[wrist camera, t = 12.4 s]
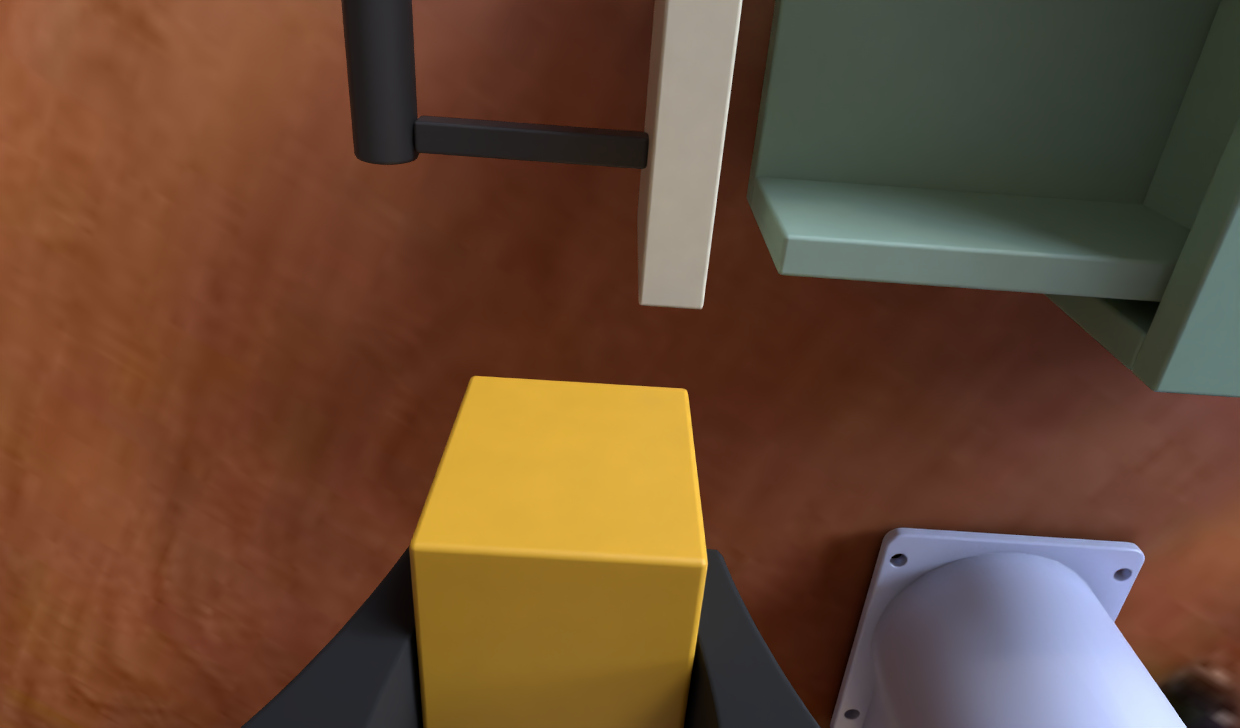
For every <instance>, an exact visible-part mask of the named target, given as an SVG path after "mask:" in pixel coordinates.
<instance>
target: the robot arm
mask: <svg viewBox="0 0 1240 728" xmlns="http://www.w3.org/2000/svg"><path fill="white" fill-rule="evenodd" d="M706 551H707V559H708V567H707V574H706V581H705V587H704V594H703V601H702V608H701V614H700V621H699V628H698V635H697V642H696V648H695V655H694V662H693V669H692V675H691V682H690V689H689V696H688V703H687V709H686V716H685V723H684V728H820V726H819V725H818V723H817V722H816V721H815V719H814V718H813V716H812V715H811V714H810V712H809V711H808V709H807V708H806V706H805V705H804V703H803V702H802V700H801V699H800V697H799V696H798V694H797V693H796V691H795V690H794V688H793V687H792V685H791V684H790V682H789V681H788V679H787V678H786V676H785V674H784V673H783V671H782V670H781V668H780V666H779V665H778V663H777V661H776V660H775V658H774V656H773V655H772V653H771V651H770V649H769V648H768V646H767V644H766V643H765V641H764V639H763V638H762V636H761V634H760V632H759V631H758V629H757V627H756V625H755V623H754V621H753V620H752V618H751V616H750V614H749V612H748V610H747V608H746V606H745V604H744V602H743V600H742V598H741V596H740V594H739V592H738V590H737V588H736V586H735V584H734V582H733V580H732V577H731V575H730V573H729V570H728V568H727V566H726V563H725V561H724V558H723V556H722V555H721V554H720V553H719V552H718V551H717V550H711V549H706ZM896 554H902V555H901V556H900V557H898V558H891V557H892V556H894V555H896ZM1144 558H1145V557H1144V554H1143V552H1142V551H1141V550H1140V549H1139V547H1138V546H1136V545H1135V544H1134V543H1130V542H1118V541H1102V540H1086V539H1071V538H1055V537H1040V536H1024V535H1009V534H993V533H978V532H962V531H947V530H931V529H916V528H896V529H893V530H891V531H889V532H888V533H887V534H886V535H885V536H884V538H883V541H882V544H881V548H880V551H879V555H878V558H877V562H876V565H875V569H874V572H873V576H872V579H871V583H870V586H869V590H868V593H867V597H866V600H865V604H864V607H863V611H862V614H861V618H860V621H859V625H858V628H857V632H856V635H855V639H854V642H853V646H852V649H851V653H850V656H849V660H848V663H847V667H846V670H845V674H844V677H843V681H842V684H841V688H840V691H839V695H838V698H837V702H836V705H835V709H834V712H833V716H832V719H831V723H830V728H1187V727H1186V726H1185V724H1184V723H1183V721H1182V720H1181V719H1180V717H1179V716H1178V714H1177V713H1176V711H1175V710H1174V708H1173V707H1172V706H1171V704H1170V703H1169V701H1168V700H1167V698H1166V697H1165V695H1164V694H1163V693H1162V691H1161V690H1160V688H1159V687H1158V685H1157V684H1156V683H1155V681H1154V680H1153V678H1152V677H1151V675H1150V674H1149V672H1148V671H1147V670H1146V668H1145V667H1144V665H1143V664H1142V662H1141V661H1140V659H1139V658H1138V657H1137V655H1136V654H1135V652H1134V651H1133V649H1132V648H1131V646H1130V645H1129V644H1128V642H1127V641H1126V639H1125V638H1124V636H1123V635H1122V634H1121V632H1120V631H1119V629H1118V628H1117V626H1116V625H1115V623H1114V622H1115V620H1116V618H1117V616H1118V614H1119V612H1120V610H1121V607H1122V605H1123V603H1124V601H1125V599H1126V597H1127V595H1128V593H1129V591H1130V589H1131V587H1132V585H1133V583H1134V581H1135V579H1136V577H1137V575H1138V573H1139V571H1140V569H1141V567H1142V565H1143V562H1144ZM1120 569H1122V570H1120ZM1118 570H1120V571H1118ZM1116 571H1118V572H1116ZM849 709H850V710H849ZM241 728H423V718H422V705H421V693H420V680H419V667H418V655H417V642H416V629H415V617H414V604H413V591H412V579H411V566H410V553H409V547H408V548H407V549H406V551H405V552H404V553H403V555H402V556H401V557H400V559H399V560H398V561H397V563H396V564H395V565H394V567H393V568H392V569H391V571H390V572H389V573H388V574H387V576H386V577H385V578H384V579H383V581H382V582H381V583H380V584H379V586H378V587H377V588H376V589H375V590H374V592H373V593H372V594H371V595H370V597H369V598H368V599H367V600H366V601H365V602H364V603H363V605H362V606H361V607H360V608H359V609H358V610H357V612H356V613H355V614H354V615H353V616H352V617H351V619H350V620H349V621H348V622H347V623H346V624H345V625H344V627H343V628H342V629H341V630H340V631H339V632H338V633H337V634H336V636H335V637H334V638H333V639H332V640H331V641H330V642H329V643H328V644H327V645H326V646H325V647H324V648H323V649H322V650H321V651H320V652H319V653H318V654H317V655H316V656H315V657H314V659H313V660H312V661H311V662H310V663H309V664H308V665H307V666H306V667H305V668H304V669H303V670H302V671H301V672H300V673H299V674H298V675H297V676H296V677H295V678H294V679H293V680H292V681H291V682H290V683H289V684H288V685H287V686H286V687H285V688H284V689H283V690H282V691H281V692H280V693H279V694H277V695H276V696H275V697H274V698H273V699H272V700H271V701H270V702H269V703H268V704H267V705H266V706H264V707H263V708H262V709H261V710H260V711H259V712H258V713H257V714H256V715H254V716H253V717H252V718H251V719H250V720H249V721H248V722H247V723H245V724H244V725H243V726H242V727H241Z"/></svg>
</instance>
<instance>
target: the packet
mask: <svg viewBox="0 0 1240 728" xmlns="http://www.w3.org/2000/svg"><path fill="white" fill-rule="evenodd" d="M409 553H410V566H411V579H412V591H413V604H414V617H415V629H416V642H417V655H418V667H419V680H420V693H421V705H422V718H423V728H684V723H685V716H686V709H687V703H688V696H689V689H690V682H691V675H692V669H693V662H694V655H695V648H696V642H697V635H698V628H699V621H700V614H701V608H702V601H703V594H704V587H705V581H706V574H707V567H708V559H707V551H706V542H705V534H704V525H703V517H702V508H701V500H700V491H699V482H698V474H697V465H696V457H695V448H694V440H693V431H692V423H691V414H690V406H689V397H688V393H687V391H686V390H685V389H682V388H666V387H650V386H633V385H617V384H600V383H584V382H568V381H551V380H535V379H519V378H502V377H486V376H473V377H471V378H470V381H469V383H468V386H467V389H466V391H465V394H464V397H463V400H462V402H461V405H460V408H459V411H458V413H457V416H456V419H455V422H454V424H453V427H452V430H451V432H450V435H449V438H448V441H447V443H446V446H445V449H444V452H443V454H442V457H441V460H440V463H439V465H438V468H437V471H436V474H435V476H434V479H433V482H432V485H431V487H430V490H429V493H428V495H427V498H426V501H425V504H424V506H423V509H422V512H421V515H420V517H419V520H418V523H417V526H416V528H415V531H414V534H413V537H412V539H411V542H410V545H409Z"/></svg>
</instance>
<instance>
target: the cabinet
mask: <svg viewBox="0 0 1240 728" xmlns="http://www.w3.org/2000/svg"><path fill="white" fill-rule="evenodd" d="M1044 295H1046V296H1047V297H1048V298H1049V299H1050V300H1051V301H1052V302H1053V303H1055V304H1056V305H1057V306H1058V307H1059V308H1060V309H1061V310H1062V311H1064V312H1065V313H1066V314H1067V315H1068V316H1069V317H1070V318H1072V319H1073V320H1074V321H1075V322H1076V323H1077V324H1078V325H1079V326H1081V327H1082V328H1083V329H1084V330H1085V331H1086V332H1087V333H1088V334H1090V335H1091V336H1092V337H1093V338H1094V339H1095V340H1096V341H1097V342H1099V343H1100V344H1101V345H1102V346H1103V347H1104V348H1105V349H1107V350H1108V351H1109V352H1110V353H1111V354H1112V355H1113V356H1114V357H1116V358H1117V359H1118V360H1119V361H1120V362H1121V363H1122V364H1123V365H1125V366H1126V367H1127V368H1128V369H1130V370H1132V372H1133V374H1134V375H1136V376H1137V377H1138V378H1139V379H1140V380H1141V381H1142V382H1144V383H1145V384H1146V385H1147V386H1148V387H1149V388H1150V389H1151V390H1153V391H1155V392H1167V393H1181V394H1196V395H1211V396H1225V397H1240V113H1239V115H1238V118H1237V120H1236V123H1235V125H1234V127H1233V130H1232V132H1231V135H1230V137H1229V139H1228V142H1227V144H1226V146H1225V149H1224V151H1223V154H1222V156H1221V158H1220V161H1219V163H1218V166H1217V168H1216V170H1215V173H1214V175H1213V178H1212V180H1211V182H1210V185H1209V187H1208V189H1207V192H1206V194H1205V197H1204V199H1203V201H1202V204H1201V206H1200V209H1199V211H1198V213H1197V216H1196V218H1195V220H1194V223H1193V225H1192V228H1191V230H1190V232H1189V235H1188V237H1187V240H1186V242H1185V244H1184V247H1183V249H1182V252H1181V254H1180V256H1179V259H1178V261H1177V263H1176V266H1175V268H1174V271H1173V273H1172V275H1171V278H1170V280H1169V283H1168V285H1167V287H1166V290H1165V292H1164V295H1163V297H1162V299H1161V302H1156V301H1142V300H1128V299H1114V298H1100V297H1085V296H1071V295H1057V294H1044Z"/></svg>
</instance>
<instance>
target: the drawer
mask: <svg viewBox="0 0 1240 728" xmlns="http://www.w3.org/2000/svg"><path fill="white" fill-rule="evenodd" d="M341 1H342V13H343V25H344V37H345V48H346V60H347V72H348V84H349V95H350V107H351V119H352V131H353V143H354V154H355V156H356V157H357V159H359V160H361V161H364V162H367V163H372V164H380V165H395V164H403V163H408V162H411V161H414V160H416V159H417V158H418V155H419V153H429V154H443V155H456V156H470V157H484V158H498V159H511V160H525V161H539V162H553V163H566V164H580V165H594V166H607V167H621V168H635V169H641V176H640V188H639V200H638V212H637V229H638V299H639V304H640V305H644V306H658V307H673V308H687V309H702V307H703V304H704V296H705V288H706V280H707V273H708V265H709V257H710V249H711V242H712V234H713V226H714V218H715V211H716V203H717V195H718V187H719V180H720V172H721V164H722V156H723V148H724V141H725V133H726V125H727V117H728V110H729V102H730V94H731V86H732V79H733V71H734V63H735V55H736V48H737V40H738V32H739V24H740V16H741V9H742V1H743V0H655V5H654V18H653V30H652V42H651V54H650V66H649V78H648V91H647V103H646V115H645V127H644V132H638V131H625V130H611V129H598V128H584V127H571V126H557V125H544V124H530V123H516V122H503V121H489V120H476V119H462V118H449V117H435V116H421V117H419V118H418V119H417V99H416V78H415V57H414V36H413V15H412V0H341ZM1239 113H1240V0H775V6H774V13H773V20H772V26H771V33H770V40H769V47H768V54H767V61H766V67H765V74H764V81H763V88H762V95H761V102H760V109H759V115H758V122H757V129H756V136H755V143H754V150H753V156H752V163H751V170H750V177H749V184H748V191H747V200H748V203H749V205H750V207H751V210H752V212H753V215H754V217H755V219H756V222H757V224H758V226H759V229H760V231H761V234H762V236H763V238H764V241H765V243H766V245H767V248H768V250H769V252H770V255H771V257H772V260H773V262H774V264H775V267H776V269H777V271H778V273H779V274H781V275H787V276H801V277H816V278H830V279H844V280H858V281H872V282H887V283H901V284H915V285H929V286H943V287H958V288H972V289H986V290H1000V291H1014V292H1029V293H1043V294H1057V295H1071V296H1085V297H1100V298H1114V299H1128V300H1142V301H1156V302H1161V299H1162V297H1163V295H1164V292H1165V290H1166V287H1167V285H1168V283H1169V280H1170V278H1171V275H1172V273H1173V271H1174V268H1175V266H1176V263H1177V261H1178V259H1179V256H1180V254H1181V252H1182V249H1183V247H1184V244H1185V242H1186V240H1187V237H1188V235H1189V232H1190V230H1191V228H1192V225H1193V223H1194V220H1195V218H1196V216H1197V213H1198V211H1199V209H1200V206H1201V204H1202V201H1203V199H1204V197H1205V194H1206V192H1207V189H1208V187H1209V185H1210V182H1211V180H1212V178H1213V175H1214V173H1215V170H1216V168H1217V166H1218V163H1219V161H1220V158H1221V156H1222V154H1223V151H1224V149H1225V146H1226V144H1227V142H1228V139H1229V137H1230V135H1231V132H1232V130H1233V127H1234V125H1235V123H1236V120H1237V118H1238V115H1239Z"/></svg>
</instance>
